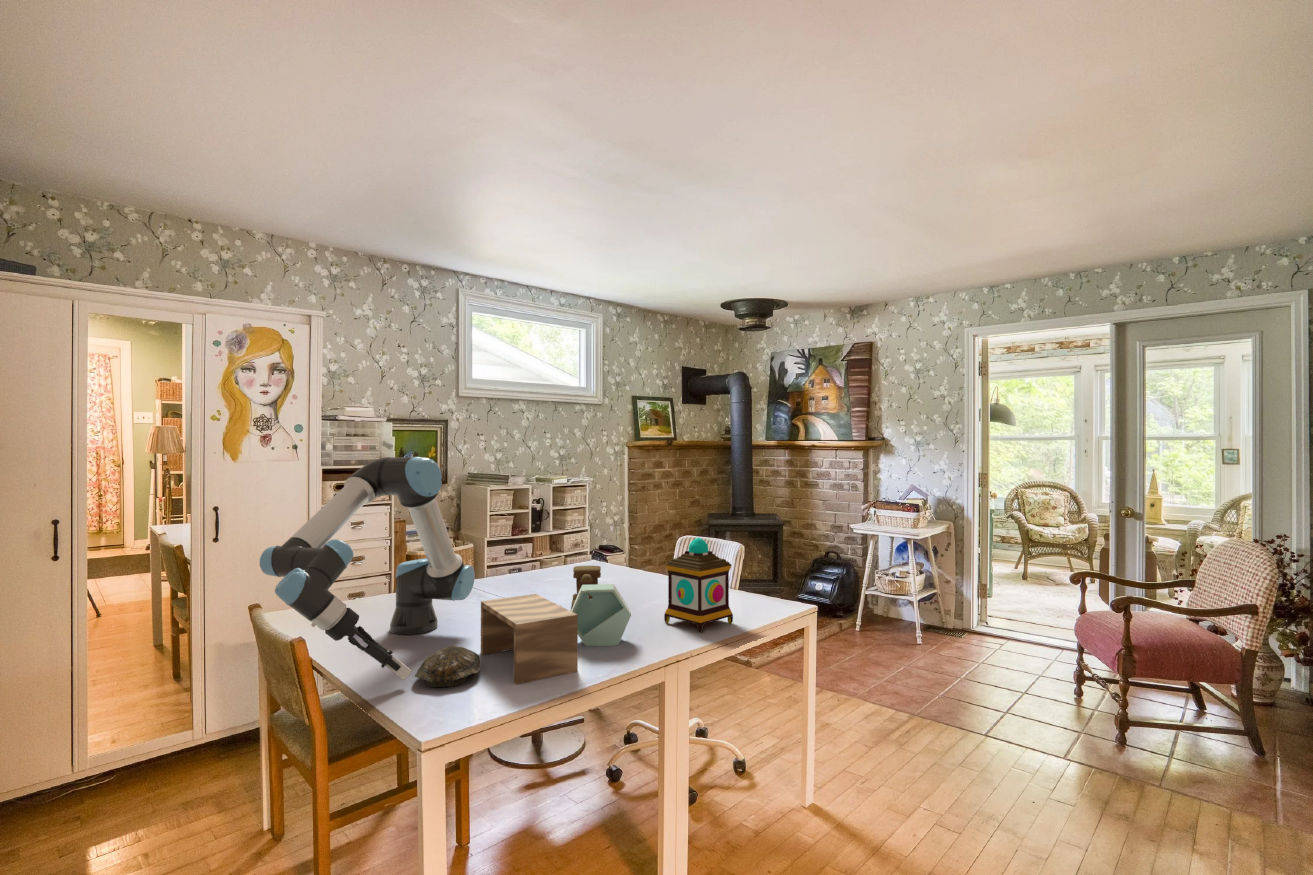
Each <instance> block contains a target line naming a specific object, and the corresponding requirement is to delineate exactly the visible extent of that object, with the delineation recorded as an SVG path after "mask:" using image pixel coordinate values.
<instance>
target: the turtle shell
mask: <svg viewBox="0 0 1313 875" xmlns="http://www.w3.org/2000/svg"><path fill="white" fill-rule="evenodd" d="M480 668H481V657H480V655H479V654H478V653H476V651H473V650H470V649H468V648H466V647H464V646H456V645H450V646H447V647H443V648H441V649H437V651H435V652H433V653H432V654H430V655H428V657H426V658H425V659H424V660H423V662H422V663H421V664H420V666H419V668H418V669H417V671H416V673H415V674H414V677H415V678H418V679H421V680H424V681H427V682H426V685H427V686H428V687H432V688H441V687H454V686H460V685H461V684H463V683H465V681H466V679H467V677H468V676H470V675H472V674H477V673H479V672H480V670H481V669H480Z"/></svg>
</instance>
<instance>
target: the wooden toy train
mask: <svg viewBox="0 0 1313 875" xmlns="http://www.w3.org/2000/svg"><path fill="white" fill-rule="evenodd" d="M601 568H602V567H601V566H600V565H575V566H574V567H573V569H572V571H573V579H575V580H576V583H575V584H576V585H575V586H576V593H574V594H573V595H572V601H571V607H570V611H571V610H572V607H573V605H574V603H575V600H576V598H577V596H578V593H579V591H580V589H581V586H582V585H596V584H599V579H601V577H602V575H601V574H602V573H601V571H602V569H601ZM587 594H588V596H589V599H592V598H593V597H592V596H590V595H589V593H587Z"/></svg>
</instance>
